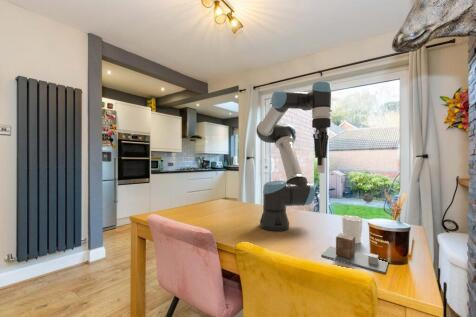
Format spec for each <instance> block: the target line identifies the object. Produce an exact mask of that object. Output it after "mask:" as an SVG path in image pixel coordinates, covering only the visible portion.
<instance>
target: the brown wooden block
mask: <svg viewBox="0 0 476 317" xmlns="http://www.w3.org/2000/svg"><path fill="white" fill-rule="evenodd" d="M335 244H336V245H335V248H336V255H339V256H343V257H347V258H350V259H352V257H353V256H354V254H355V253H356V243H355V236H353V235H348V234H343V232H339V234H337V235H336V236H335Z"/></svg>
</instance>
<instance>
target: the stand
mask: <svg viewBox="0 0 476 317" xmlns="http://www.w3.org/2000/svg"><path fill="white" fill-rule="evenodd" d="M322 256H324V257H323V258H325V257H328V258H327V259H329V258H331V259H330V260H333V259H335V260H334V261H336V260H339V261H338V262H340V261H342V262H341V263H344V262H345V263H344V264H347V263H349V264H348V265H351V264H352V266H355V267H358V268H363V269H365V270H369V271H373V272H377V273H380V274H384V275H386V273H387V270H388V266H389V264H388V262H385V261H382V260H379V259H378V258H379V254H375V253H369V254H363V253H359V252H355V254H354V256H353V257H352V259H350V258H347V257H343V256H339V255H336V246H335V247H334V246H329V247H328V248H326V250H324V251H323V253H321V254H320V257H322Z"/></svg>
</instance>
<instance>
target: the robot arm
mask: <svg viewBox="0 0 476 317" xmlns="http://www.w3.org/2000/svg"><path fill="white" fill-rule="evenodd" d="M271 94H272V95H271V99H270V100H271V101H270V103H271V104H270V105H271V106H270V108H269V110H268V112H267V113H266V115H265V116H264V117H263V120H261V121H260V122H259V123H258V124H257V126H256V135H257V137H258V138H259V139H260V140H261V141H262V142H265V143H267V144H268V143H269V144H274V145H275V148H276V149H278V150H279V154H280V158H281V162H282V165H283V169H284V172H285V176H286V179H287V180H273V181H269V182H265V183H264V184H263V190H262V193H263V194H262V196H263V199H262V200H263V201H262V202H263V204H262V205H263V206H262V209H263V211H262V213H261V217H260V220H259V227H260V228H261V229H263V230H266V231H271V232H281V231H282V232H283V231H288V230H289V229H290V220H289V217H288V214H287V207H293V206H294V207H295V206H302V207H303V206H309V205H311V204H312V203H313V201H314V199H315V196H316V195H315V194H316V190H315V185H314V183H312V182H308V179H307V177H306V176H304V175H303V173H302V170H301V167H300V166H301V165H300V163H299V159H298V157H297V153H296V150H295V147H294V143H295V141H296V138H297V135H296V129H295V127H294V126H293V125H291V124H287V123H284V124H280V123H279V122H280V120H281V119H282V118H283V117H284V116H285V113H286V112H287V111H288V110H289V109H291V110H292V109H294V110H295V109H296V110H297V109H298V110H302V111H305V112H306V111H310V110H311V111H312V112H311V118H312V120H311V127H312V129H315V131H314V133H312V137H313V145H314V146H313V147H314V158H315V159H316V161H317V162H316V173H317V174H325V170H326V169H325V166H326V164H325V162H326V161H325V160H326V159H327V158H328V156H327V153H328V144H329V134H328V132H327V129H329V128H330V127H331V120H332V119H331V118H330V117H331V114H332V112H333V110H332V109H331V105H332V85H331V82H329V81H328V80H327V81H326V80H321V81H320V80H319V81H316V82H314V83H313V84H312V87H311V91H310V92H303V91H301V92H299V91H283V90H278V91H277V90H276V91H274V92H273V93H271ZM278 123H279V124H278Z"/></svg>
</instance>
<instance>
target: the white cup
mask: <svg viewBox="0 0 476 317" xmlns="http://www.w3.org/2000/svg"><path fill="white" fill-rule="evenodd" d="M341 220H342V233H343V234H348V235H353V236H355V244H359V243H361V240H362V239H361V238H362V231H363V230H362V229H363V217H360V216H356V215H351V214H350V215H343V216H341Z"/></svg>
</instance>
